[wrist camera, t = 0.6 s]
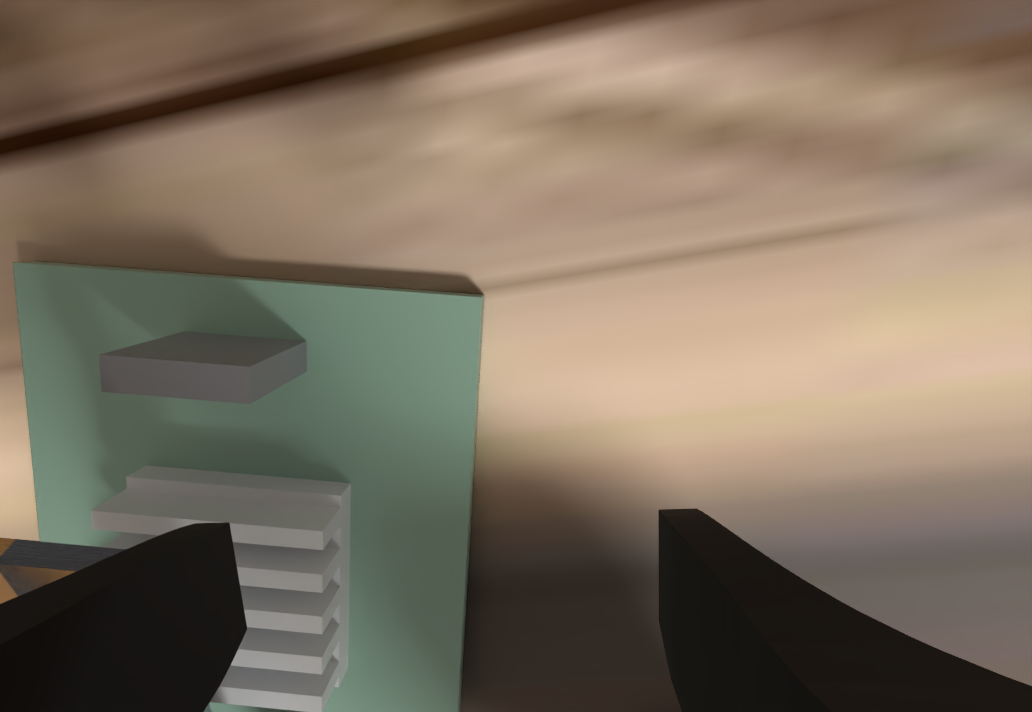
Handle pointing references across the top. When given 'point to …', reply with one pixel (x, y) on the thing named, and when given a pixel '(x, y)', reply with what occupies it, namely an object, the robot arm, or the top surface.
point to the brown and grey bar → (43, 564)
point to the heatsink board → (272, 461)
